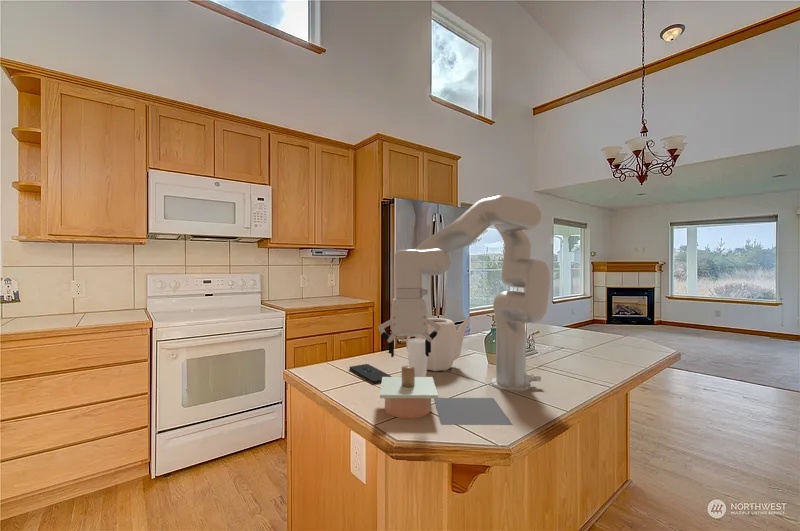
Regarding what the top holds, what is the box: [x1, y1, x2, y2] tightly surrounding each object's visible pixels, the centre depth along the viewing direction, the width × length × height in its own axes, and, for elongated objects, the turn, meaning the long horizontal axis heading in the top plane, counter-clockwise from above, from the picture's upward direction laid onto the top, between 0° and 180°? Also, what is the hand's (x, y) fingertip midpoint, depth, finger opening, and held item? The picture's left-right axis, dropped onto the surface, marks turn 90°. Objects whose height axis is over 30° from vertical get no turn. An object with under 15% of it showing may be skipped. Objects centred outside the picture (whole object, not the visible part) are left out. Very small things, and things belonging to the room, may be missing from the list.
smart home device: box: [349, 363, 393, 385], centre depth 131 cm, size 8×2×20 cm
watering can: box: [405, 317, 471, 372], centre depth 141 cm, size 16×27×19 cm, turn 105°
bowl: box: [384, 398, 432, 419], centre depth 100 cm, size 13×13×6 cm
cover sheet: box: [379, 365, 439, 399], centre depth 99 cm, size 15×15×6 cm
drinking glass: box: [407, 338, 428, 377], centre depth 120 cm, size 7×7×15 cm
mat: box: [433, 397, 513, 426], centre depth 99 cm, size 18×18×1 cm
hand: (409, 355), depth 100 cm, fingers open, 9 cm apart
